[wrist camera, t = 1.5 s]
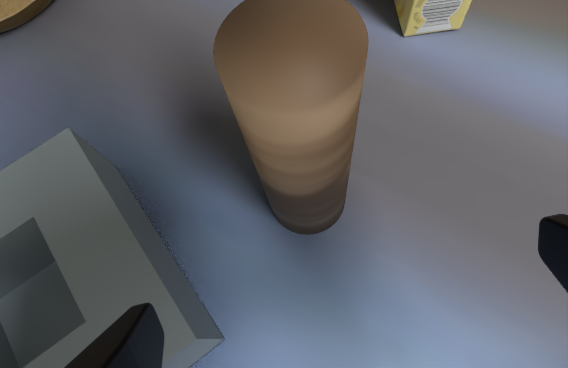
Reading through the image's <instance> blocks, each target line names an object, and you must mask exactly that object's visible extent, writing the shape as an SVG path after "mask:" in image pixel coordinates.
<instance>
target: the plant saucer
mask: <svg viewBox="0 0 568 368" xmlns="http://www.w3.org/2000/svg"><path fill="white" fill-rule="evenodd" d="M51 2H52V0H0V33H2V32H5V31H8V30H11V29H13V28H16V27H18V26H20V25H22V24H24V23H26V22H28V21H29V20H31V19H32V18H34V17H35V16H37V15H38V14H39V13H41V12H42V11H43V10H44V9H45V8H46V7H47V6H48V5H49V4H50V3H51Z"/></svg>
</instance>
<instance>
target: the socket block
mask: <svg viewBox="0 0 568 368" xmlns="http://www.w3.org/2000/svg"><path fill="white" fill-rule="evenodd" d="M147 302H149V303H151V304H152V305H153V307H154V309H155V311H156V313H157V316H158V318H159V320H160V323H161V325H162V327H163V330H164V337H165V340H164V351H163V361H162V368H190V367H191V366H192V365H193V364H195V363H196V362H197V361H199V360H200V359H201V358H202V357H204V356H205V355H206V354H207V353H209V352H210V351H211V350H212V349H214V348H215V347H216V346H217V345H219V344H220V343H221V342H222V341H224V340H225V338H224V336H223V335H222V333H221V332H220V330H219V329H218V327H217V325H216V324H215V322H214V321H213V319H212V318H211V316H210V314H209V313H208V311H207V310H206V308H205V307H204V305H203V303H202V302H201V300H200V299H199V297H198V296H197V294H196V292H195V291H194V289H193V288H192V286H191V285H190V283H189V281H188V280H187V278H186V277H185V275H184V274H183V272H182V270H181V269H180V267H179V266H178V264H177V263H176V261H175V259H174V258H173V256H172V255H171V253H170V252H169V250H168V248H167V247H166V245H165V244H164V242H163V241H162V239H161V237H160V236H159V234H158V233H157V231H156V230H155V228H154V226H153V225H152V223H151V222H150V220H149V218H148V217H147V215H146V214H145V212H144V211H143V209H142V207H141V206H140V204H139V203H138V201H137V200H136V198H135V196H134V195H133V193H132V192H131V190H130V189H129V187H128V185H127V184H126V182H125V181H124V179H123V178H122V176H121V174H120V173H119V171H118V170H117V168H116V167H115V166H114V165H113V164H112V163H111V162H109V161H108V160H107V159H106V158H105V157H104V156H102V155H101V154H100V153H99V152H98V151H96V150H95V149H94V148H93V147H92V146H90V145H89V144H88V143H87V142H86V141H84V140H83V139H82V138H81V137H80V136H78V135H77V134H76V133H75V132H74V131H72V130H71V129H70V128H69V127H68V128H66V129H65V130H63V131H61V132H60V133H58V134H57V135H55V136H54V137H52V138H50V139H49V140H47V141H46V142H44V143H43V144H41V145H40V146H38V147H36V148H35V149H33V150H32V151H30V152H29V153H27V154H25V155H24V156H22V157H21V158H19V159H18V160H16V161H14V162H13V163H11V164H10V165H8V166H7V167H5V168H4V169H2V170H0V368H64V367H65V366H66V365H67V364H68V363H69V362H71V361H72V360H73V359H74V358H75V357H76V356H77V355H78V354H79V353H81V352H82V351H83V350H84V349H85V348H86V347H87V346H88V345H89V344H90V343H92V342H93V341H94V340H95V339H96V338H97V337H98V336H99V335H100V334H102V333H103V332H104V331H105V330H106V329H107V328H108V327H109V326H110V325H111V324H113V323H114V322H115V321H116V320H117V319H118V318H119V317H120V316H121V315H123V314H124V313H125V312H126V311H127V310H128V309H129V308H130V307H132V306H134V305H138V304H143V303H147Z"/></svg>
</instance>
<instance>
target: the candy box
mask: <svg viewBox="0 0 568 368" xmlns="http://www.w3.org/2000/svg"><path fill="white" fill-rule="evenodd" d="M471 1H472V0H394V2H395V6H396V10H397V14H398V18H399V22H400V26H401V29H402V33H403V35H404V36H412V35H418V34H426V33H433V32H439V31H446V30H455V29H459V28H460V27H461V25H462V23H463V20H464V18H465V15H466V13H467V11H468V8H469V6H470V4H471Z"/></svg>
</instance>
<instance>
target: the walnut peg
mask: <svg viewBox="0 0 568 368" xmlns="http://www.w3.org/2000/svg"><path fill="white" fill-rule="evenodd" d="M367 52H368V33H367V29H366V26H365V24H364V21H363V19H362V17H361V16H360V14H359V13H358V12H357V10H356V9H355V8H354V7H353V6H352V5H351V4H350V3H348V2H347V1H346V0H245V1H244V2H242V3H241V4H239V5H238V6H237V7H236V8H234V9H233V10H232V11H231V13H230V14H229V15H228V16H227V17H226V18H225V20H224V21H223V23H222V24H221V26H220V28H219V30H218V32H217V35H216V38H215V42H214V51H213V53H214V62H215V66H216V69H217V72H218V74H219V77H220V79H221V82H222V84H223V87H224V89H225V92H226V94H227V97H228V99H229V102H230V104H231V107H232V110H233V112H234V115H235V117H236V120H237V122H238V125H239V127H240V130H241V132H242V135H243V137H244V140H245V142H246V145H247V148H248V150H249V153H250V155H251V158H252V160H253V163H254V165H255V168H256V170H257V173H258V175H259V178H260V180H261V183H262V186H263V188H264V191H265V193H266V196H267V198H268V201H269V203H270V206H271V208H272V211H273V213H274V215H275V217H276V219H277V220H278V221H279V222H280V223H281V224H282V225H283V226H284V227H285V228H287V229H289V230H290V231H293V232H295V233H299V234H316V233H319V232H322V231H324V230H326V229H328V228H330V227H331V226H332V225H333V224H334V223H335V222H336V221H337V220H338V219H339V217H340V215H341V213H342V211H343V208H344V204H345V197H346V191H347V184H348V177H349V171H350V164H351V158H352V151H353V144H354V138H355V131H356V125H357V118H358V111H359V105H360V98H361V92H362V85H363V78H364V72H365V65H366V59H367Z"/></svg>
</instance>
